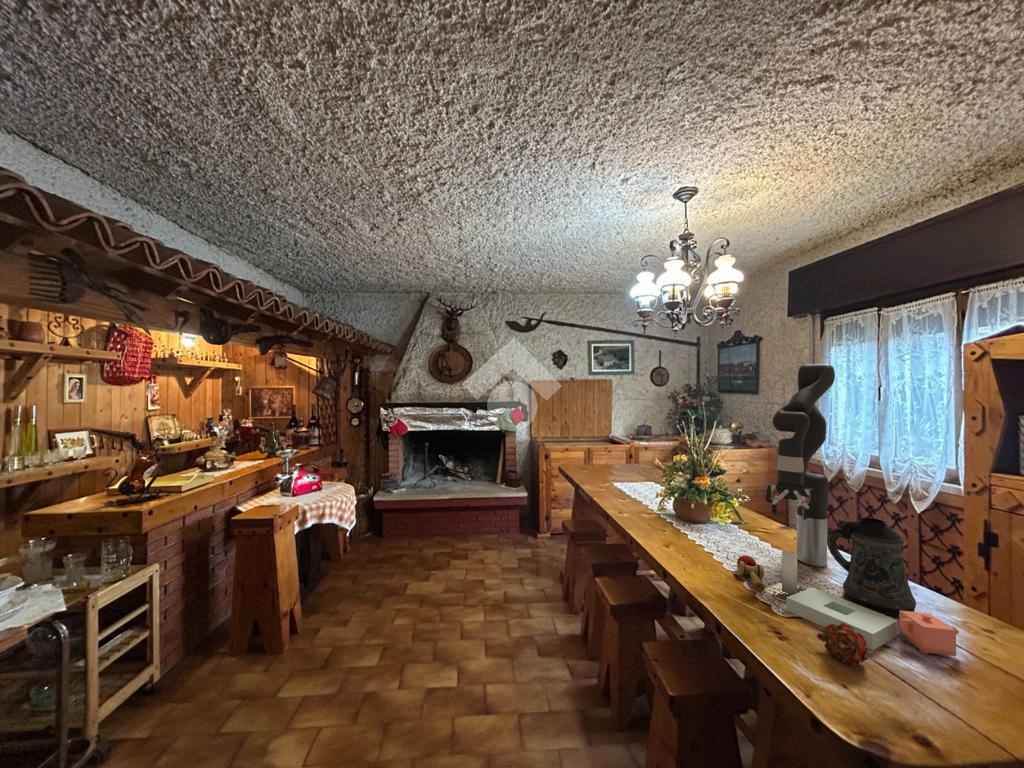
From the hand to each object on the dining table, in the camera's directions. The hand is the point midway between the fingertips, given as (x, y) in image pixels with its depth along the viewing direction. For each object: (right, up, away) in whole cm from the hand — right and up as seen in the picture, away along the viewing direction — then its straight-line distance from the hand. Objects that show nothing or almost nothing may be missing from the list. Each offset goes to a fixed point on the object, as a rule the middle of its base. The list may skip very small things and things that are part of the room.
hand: (789, 517), depth 140 cm
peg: (-7, -20, -11) cm, 24 cm away
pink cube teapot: (+9, -20, -38) cm, 44 cm away
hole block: (-5, -20, -28) cm, 35 cm away
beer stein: (+14, -21, -16) cm, 30 cm away
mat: (-7, -20, -11) cm, 24 cm away
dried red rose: (-16, -20, -43) cm, 50 cm away
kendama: (-15, -20, -3) cm, 25 cm away
